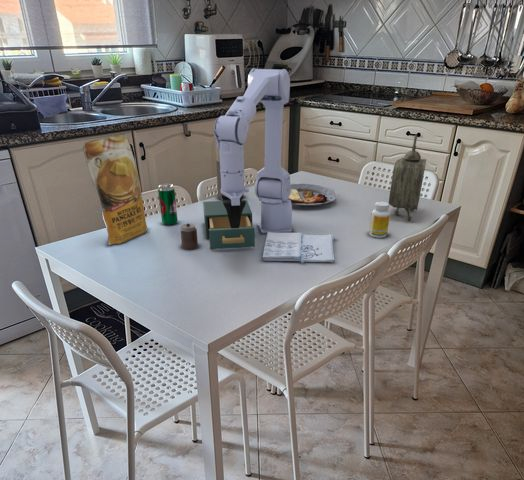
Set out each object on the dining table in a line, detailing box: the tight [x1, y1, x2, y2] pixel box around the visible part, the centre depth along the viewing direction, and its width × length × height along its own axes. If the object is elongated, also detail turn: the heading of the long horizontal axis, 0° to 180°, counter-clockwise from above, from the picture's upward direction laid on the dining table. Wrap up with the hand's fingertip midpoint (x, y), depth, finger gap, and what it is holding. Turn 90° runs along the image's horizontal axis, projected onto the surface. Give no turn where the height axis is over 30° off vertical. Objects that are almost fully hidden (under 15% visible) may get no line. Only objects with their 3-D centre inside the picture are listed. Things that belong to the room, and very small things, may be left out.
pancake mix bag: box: [82, 133, 148, 246], centre depth 139 cm, size 7×19×28 cm, turn 149°
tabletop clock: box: [388, 134, 427, 222], centre depth 155 cm, size 14×9×25 cm, turn 161°
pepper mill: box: [179, 223, 199, 251], centre depth 138 cm, size 5×5×7 cm
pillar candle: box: [215, 156, 245, 201], centre depth 175 cm, size 10×10×15 cm
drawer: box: [208, 216, 256, 250], centre depth 139 cm, size 16×13×6 cm
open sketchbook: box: [262, 232, 336, 264], centre depth 137 cm, size 19×20×2 cm
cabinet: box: [202, 199, 253, 240], centre depth 149 cm, size 13×14×7 cm
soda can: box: [157, 183, 179, 226], centre depth 153 cm, size 5×5×12 cm
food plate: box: [287, 183, 338, 207], centre depth 176 cm, size 25×23×4 cm
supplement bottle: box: [368, 201, 391, 239], centre depth 145 cm, size 5×5×10 cm
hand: (234, 225), depth 125 cm, fingers open, 4 cm apart
